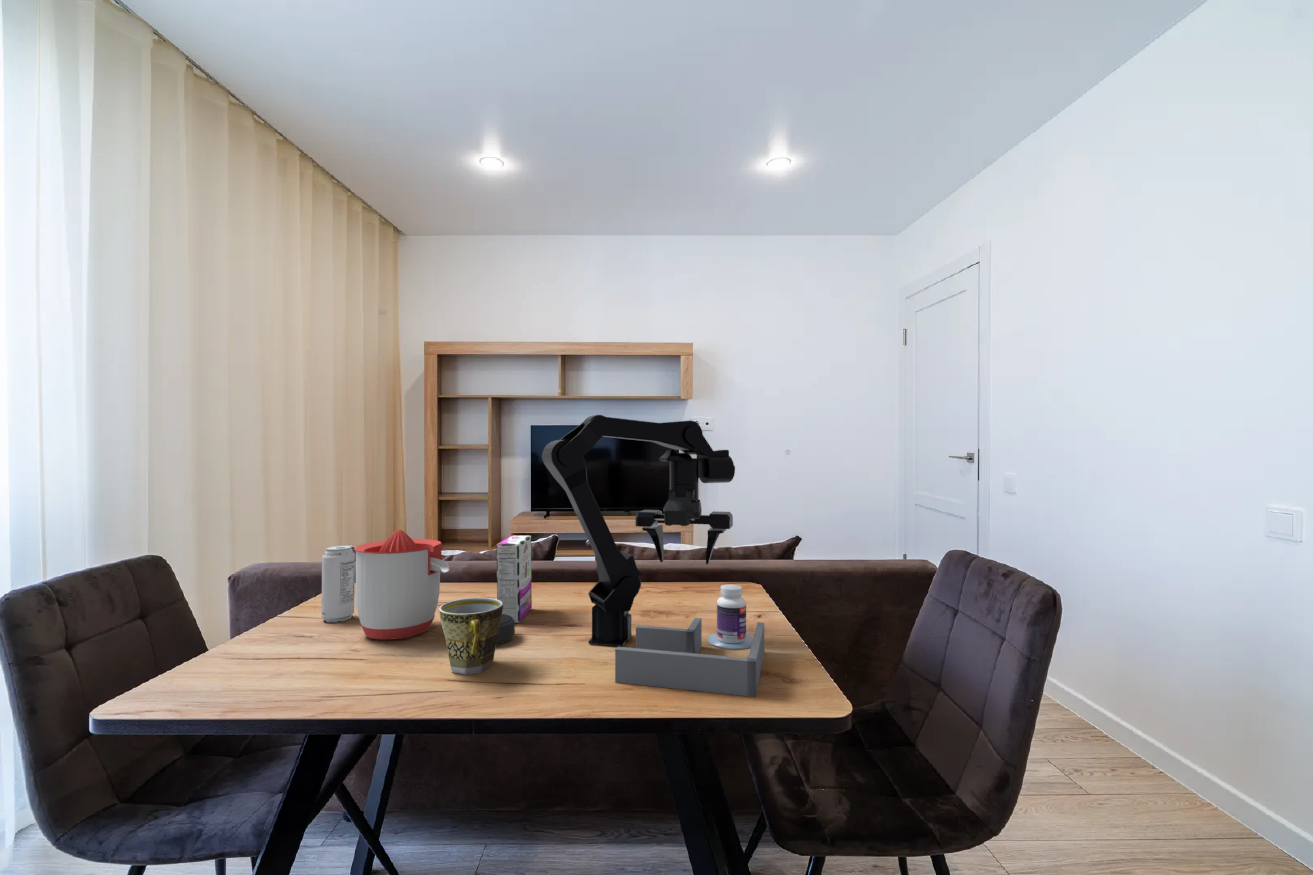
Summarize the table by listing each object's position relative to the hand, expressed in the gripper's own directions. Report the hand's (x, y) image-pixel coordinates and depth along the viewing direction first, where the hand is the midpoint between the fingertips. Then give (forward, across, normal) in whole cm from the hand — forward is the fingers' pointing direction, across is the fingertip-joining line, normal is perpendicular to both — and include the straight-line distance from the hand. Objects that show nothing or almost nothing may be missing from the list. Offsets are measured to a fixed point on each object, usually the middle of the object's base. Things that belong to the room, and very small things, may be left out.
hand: (684, 562), depth 114 cm
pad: (+13, +10, -5) cm, 17 cm away
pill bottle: (+13, +10, -5) cm, 17 cm away
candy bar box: (+13, -37, 0) cm, 39 cm away
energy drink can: (+13, -72, -11) cm, 74 cm away
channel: (+13, +5, -18) cm, 23 cm away
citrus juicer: (+13, -53, -15) cm, 57 cm away
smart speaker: (+13, -34, -15) cm, 40 cm away
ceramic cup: (+13, -29, -29) cm, 43 cm away
